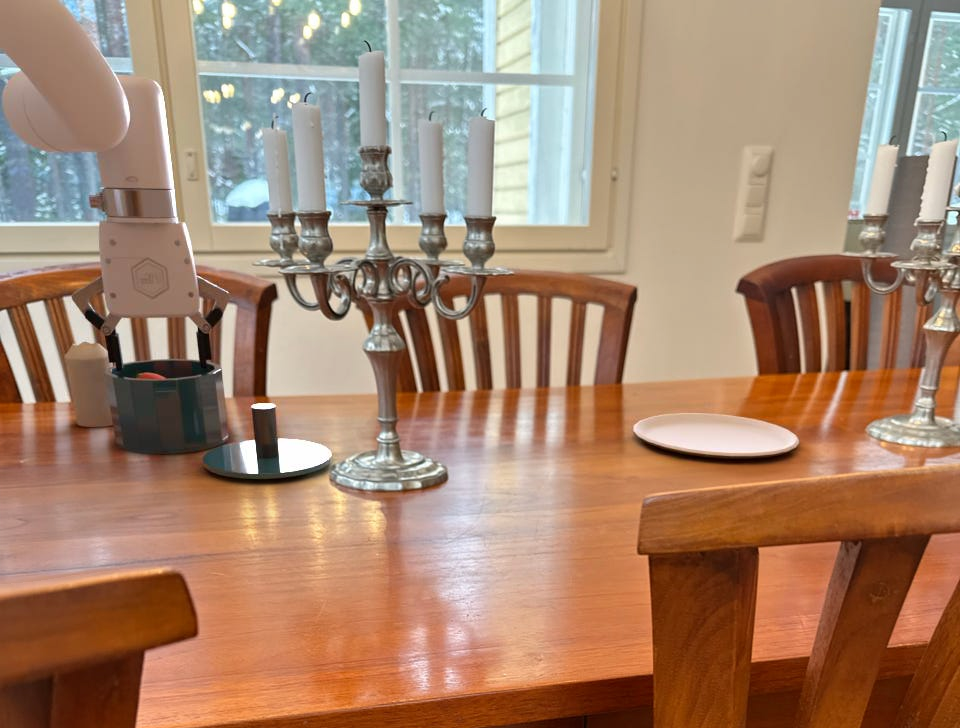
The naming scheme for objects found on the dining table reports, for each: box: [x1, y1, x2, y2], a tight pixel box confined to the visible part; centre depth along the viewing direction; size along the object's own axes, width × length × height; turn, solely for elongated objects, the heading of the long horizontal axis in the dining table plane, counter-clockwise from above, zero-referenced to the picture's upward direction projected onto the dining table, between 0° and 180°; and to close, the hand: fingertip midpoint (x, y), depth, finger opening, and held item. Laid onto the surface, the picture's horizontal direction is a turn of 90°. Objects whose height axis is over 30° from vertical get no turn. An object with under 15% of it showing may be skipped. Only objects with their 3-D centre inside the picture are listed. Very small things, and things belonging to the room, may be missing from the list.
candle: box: [63, 341, 114, 428], centre depth 115 cm, size 6×6×10 cm
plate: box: [632, 412, 800, 460], centre depth 115 cm, size 21×21×1 cm
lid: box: [202, 403, 332, 480], centre depth 100 cm, size 14×14×7 cm
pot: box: [104, 358, 230, 455], centre depth 108 cm, size 13×19×8 cm
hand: (162, 367), depth 106 cm, fingers open, 9 cm apart
